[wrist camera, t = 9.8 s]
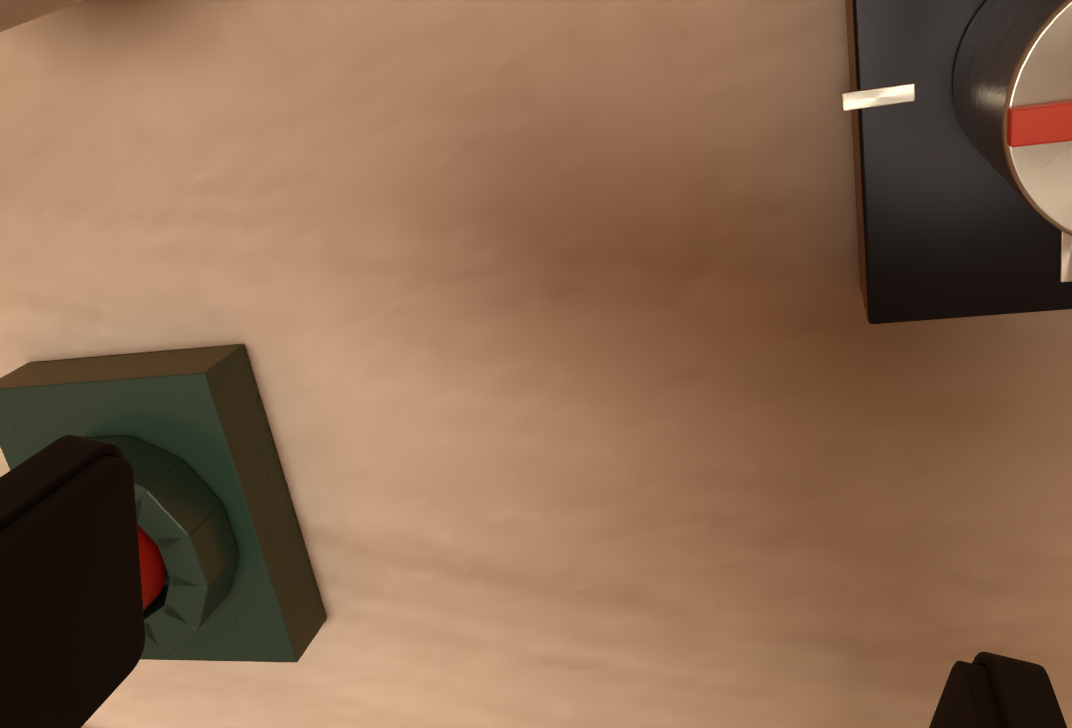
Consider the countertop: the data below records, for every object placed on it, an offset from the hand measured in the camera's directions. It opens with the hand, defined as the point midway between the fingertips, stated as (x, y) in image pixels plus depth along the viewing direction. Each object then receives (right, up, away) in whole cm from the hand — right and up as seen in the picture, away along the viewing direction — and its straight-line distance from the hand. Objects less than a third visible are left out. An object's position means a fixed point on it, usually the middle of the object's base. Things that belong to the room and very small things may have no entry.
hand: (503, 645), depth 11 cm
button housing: (-11, -1, +21) cm, 24 cm away
